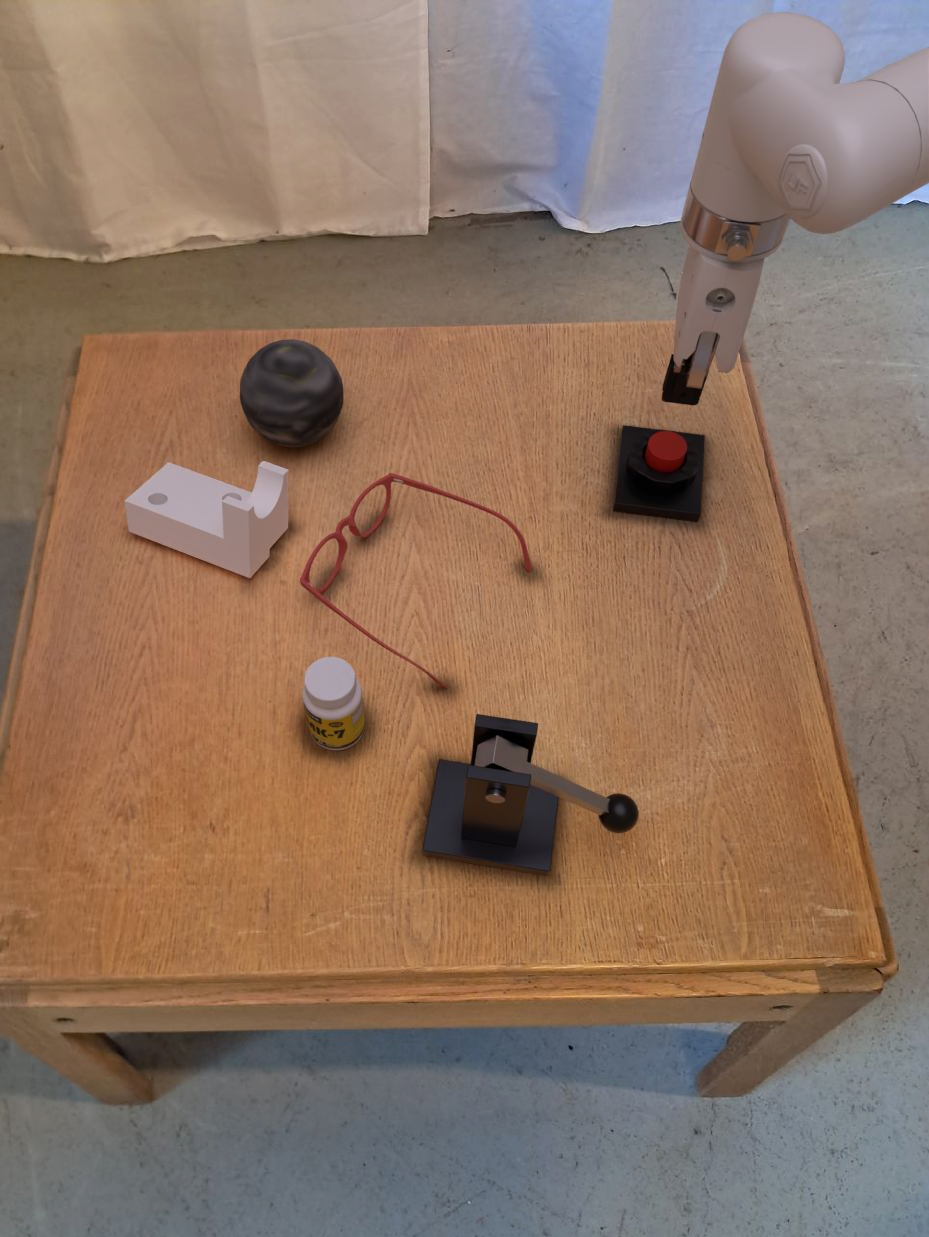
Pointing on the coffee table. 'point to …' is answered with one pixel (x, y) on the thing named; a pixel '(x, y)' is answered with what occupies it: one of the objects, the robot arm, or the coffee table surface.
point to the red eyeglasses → (354, 530)
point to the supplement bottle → (333, 703)
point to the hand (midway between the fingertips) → (679, 396)
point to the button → (665, 451)
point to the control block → (658, 478)
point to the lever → (559, 784)
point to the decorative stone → (291, 393)
